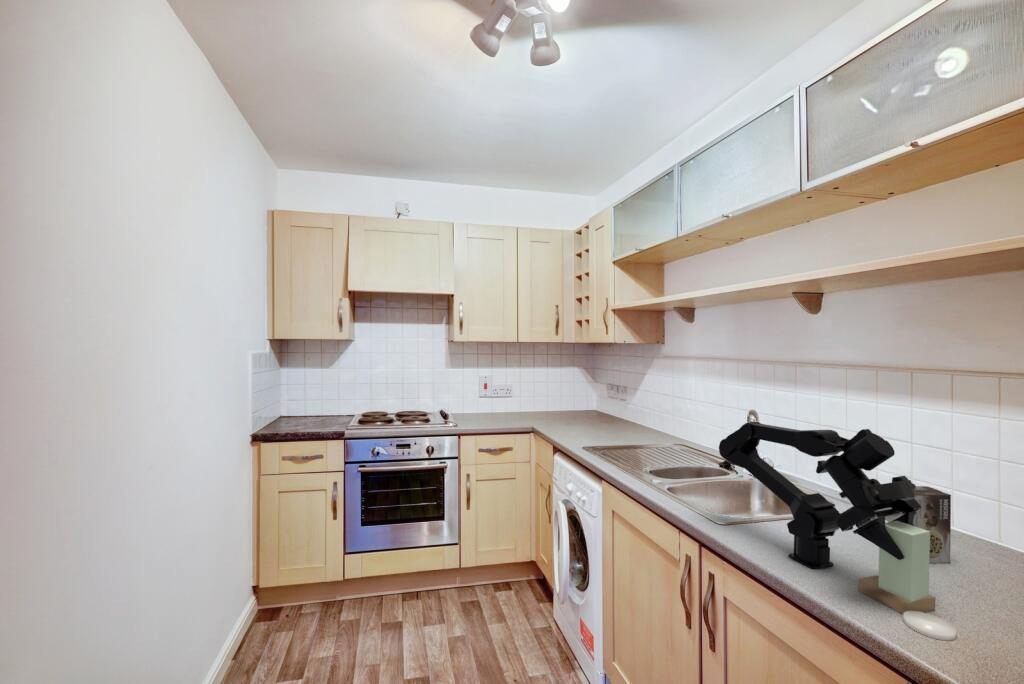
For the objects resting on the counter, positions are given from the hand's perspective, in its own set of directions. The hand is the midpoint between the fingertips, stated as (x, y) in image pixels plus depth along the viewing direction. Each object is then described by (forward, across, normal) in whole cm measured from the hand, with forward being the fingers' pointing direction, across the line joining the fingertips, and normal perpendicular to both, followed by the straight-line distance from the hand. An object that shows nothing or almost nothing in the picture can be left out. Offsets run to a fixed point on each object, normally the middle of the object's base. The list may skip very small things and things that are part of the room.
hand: (912, 556), depth 88 cm
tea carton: (+4, 0, +6) cm, 8 cm away
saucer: (+10, -4, +4) cm, 12 cm away
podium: (+5, 0, +9) cm, 10 cm away
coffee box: (-2, +28, +16) cm, 32 cm away
